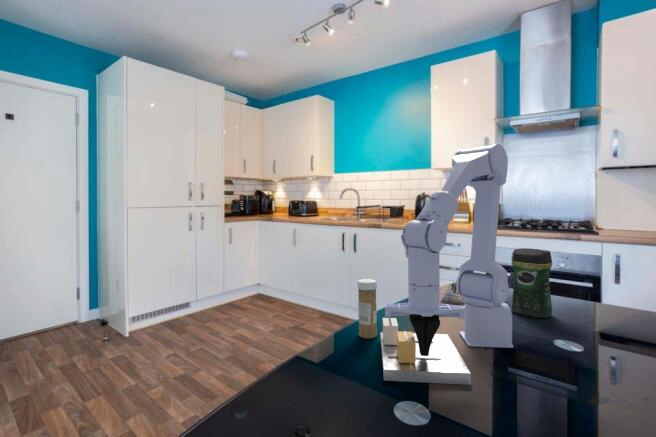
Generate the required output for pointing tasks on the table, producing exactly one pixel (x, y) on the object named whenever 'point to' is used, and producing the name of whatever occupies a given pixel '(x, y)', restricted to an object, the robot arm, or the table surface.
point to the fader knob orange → (406, 347)
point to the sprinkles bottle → (367, 308)
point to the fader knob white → (390, 331)
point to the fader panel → (427, 363)
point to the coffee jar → (531, 282)
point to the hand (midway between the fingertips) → (423, 353)
